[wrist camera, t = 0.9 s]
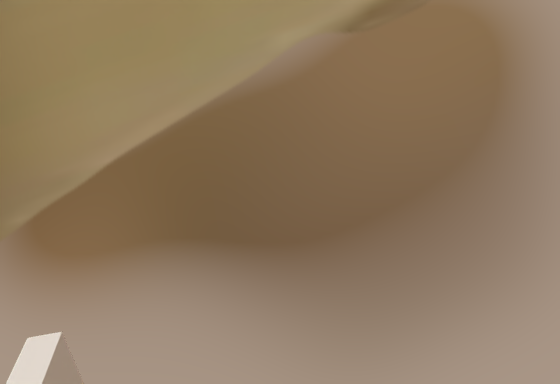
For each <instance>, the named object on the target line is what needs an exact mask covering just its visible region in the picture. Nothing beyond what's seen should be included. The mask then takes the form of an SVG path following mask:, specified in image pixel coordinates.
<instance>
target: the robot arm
mask: <svg viewBox="0 0 560 384" xmlns="http://www.w3.org/2000/svg"><path fill="white" fill-rule="evenodd" d="M6 384H84V383H83V380H82V378H81V376H80V373H79V371H78V369H77V366H76V364H75V362H74V359H73V357H72V354H71V352H70V350H69V347H68V345H67V343H66V340H65V338H64V336H63V334H62V332H57V333H52V334H46V335H41V336H35V337H30V338H27V340H26V342H25V344H24V347H23V349H22V351H21V353H20V355H19V357H18V359H17V361H16V363H15V366H14V368H13V370H12V372H11V374H10V376H9V378H8V380H7V382H6Z"/></svg>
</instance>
